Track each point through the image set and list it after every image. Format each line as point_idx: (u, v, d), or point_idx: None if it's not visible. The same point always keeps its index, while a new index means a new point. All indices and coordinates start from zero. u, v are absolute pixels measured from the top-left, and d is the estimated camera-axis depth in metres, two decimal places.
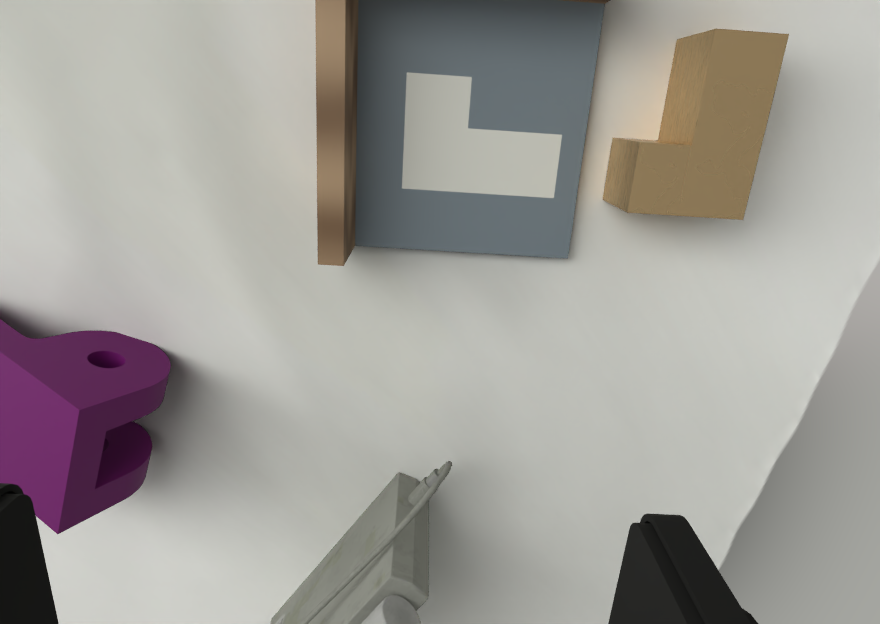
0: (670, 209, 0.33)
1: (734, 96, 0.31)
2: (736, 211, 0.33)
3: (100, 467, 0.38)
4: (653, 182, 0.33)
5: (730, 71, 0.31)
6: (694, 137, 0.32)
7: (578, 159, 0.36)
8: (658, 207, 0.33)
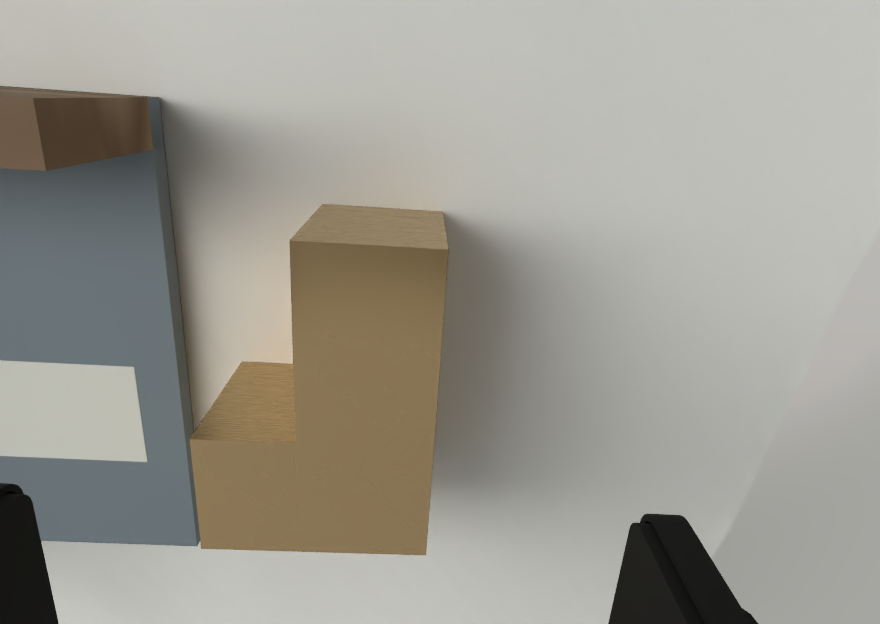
0: (282, 542, 0.18)
1: (359, 361, 0.15)
2: (410, 543, 0.18)
3: None
4: (238, 502, 0.17)
5: (341, 317, 0.15)
6: (297, 429, 0.16)
7: (174, 404, 0.20)
8: (258, 539, 0.17)
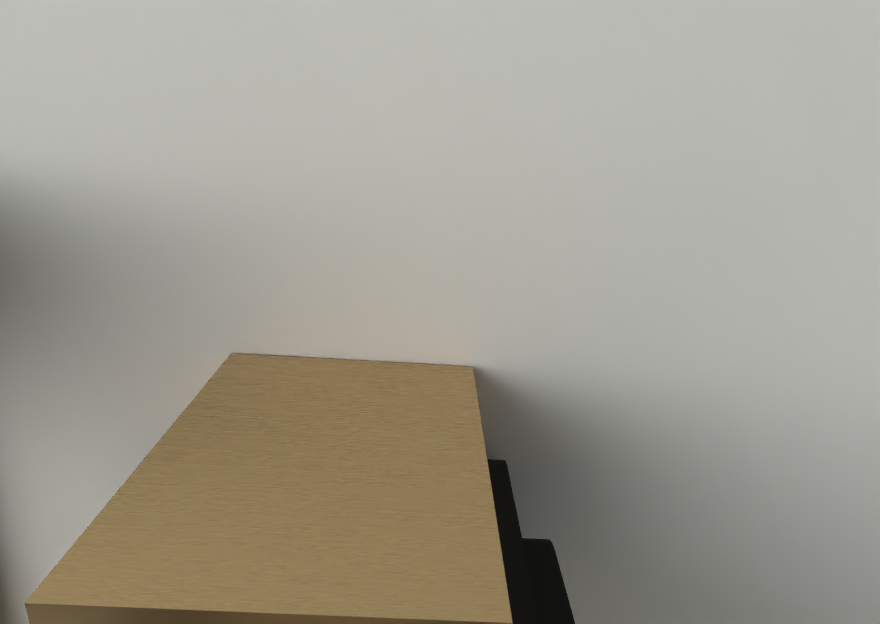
0: None
1: None
2: None
3: None
4: None
5: None
6: None
7: None
8: None
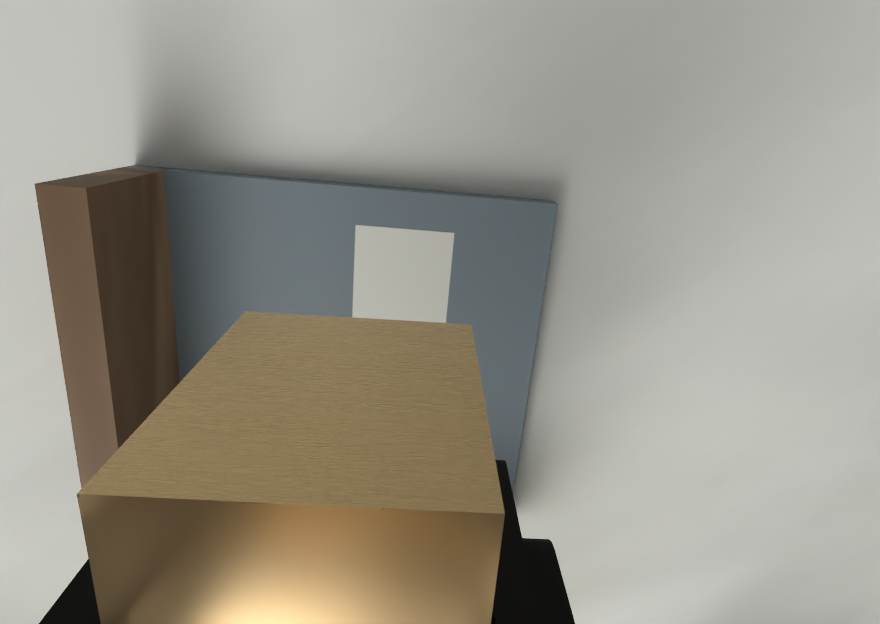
0: None
1: None
2: None
3: None
4: None
5: None
6: None
7: (393, 196, 0.22)
8: None
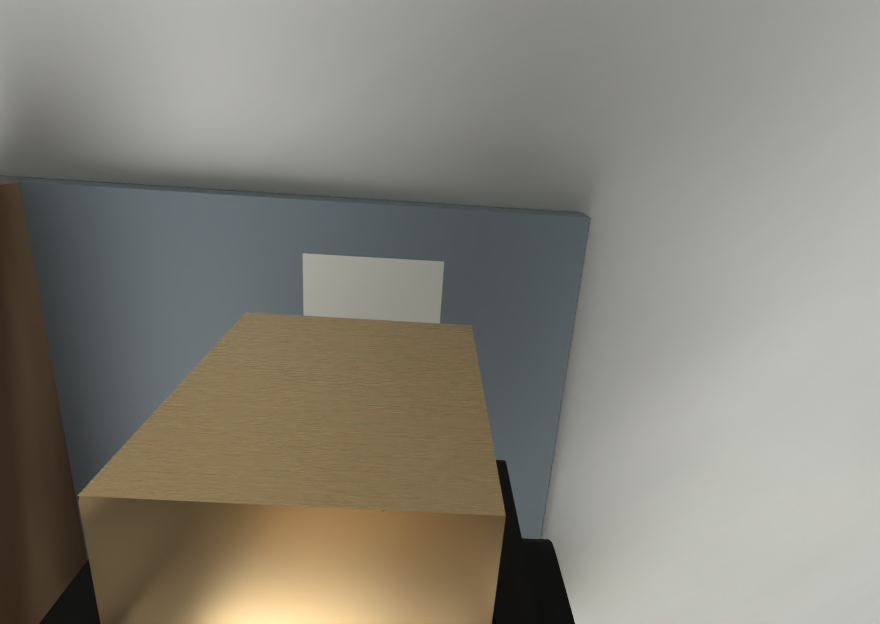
0: None
1: None
2: None
3: None
4: None
5: None
6: None
7: (354, 212, 0.16)
8: None
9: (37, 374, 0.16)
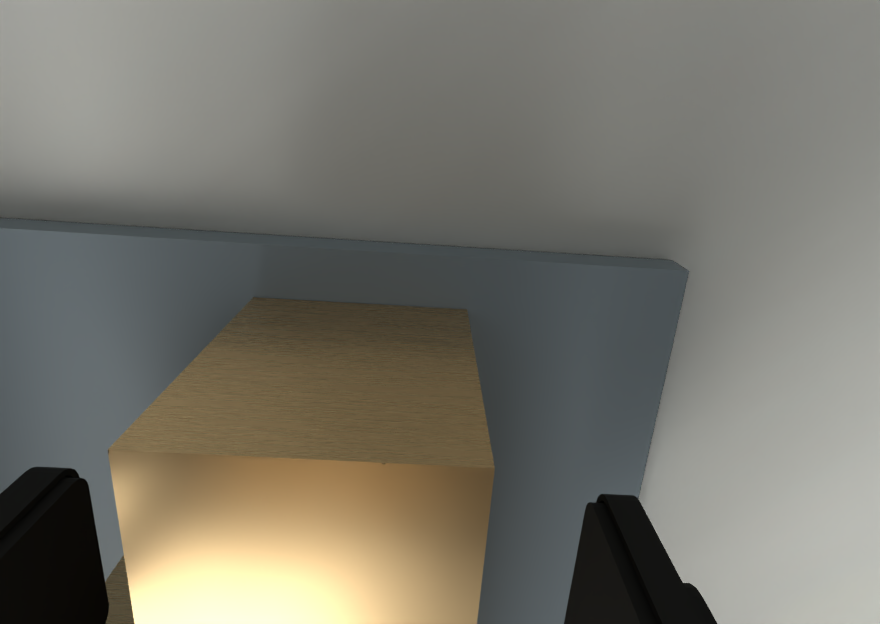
0: None
1: None
2: None
3: None
4: None
5: (244, 605, 0.07)
6: None
7: (333, 262, 0.10)
8: None
9: None
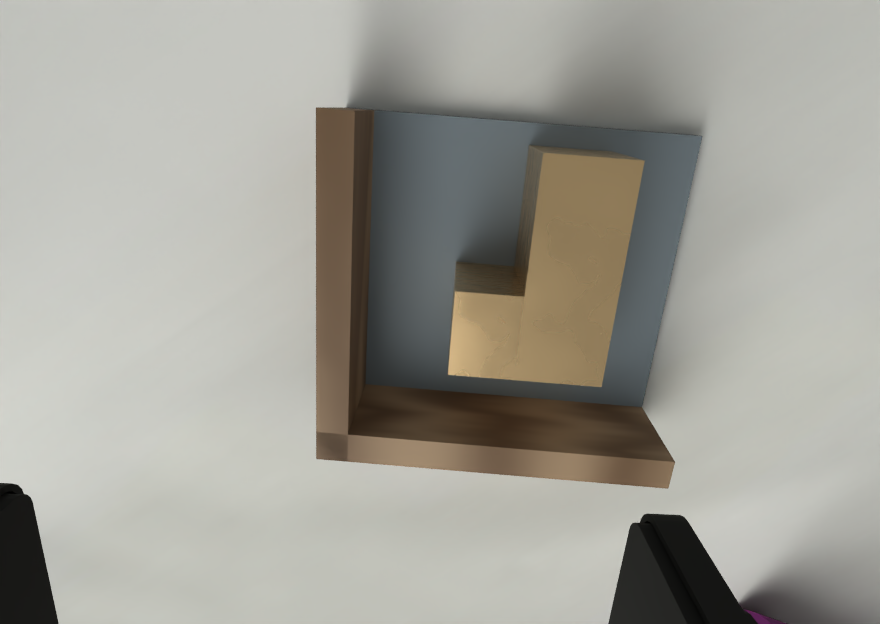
0: (503, 372, 0.25)
1: (575, 238, 0.23)
2: (591, 377, 0.25)
3: None
4: (478, 340, 0.25)
5: (568, 206, 0.23)
6: (527, 286, 0.24)
7: (562, 130, 0.27)
8: (487, 369, 0.25)
9: (368, 225, 0.28)
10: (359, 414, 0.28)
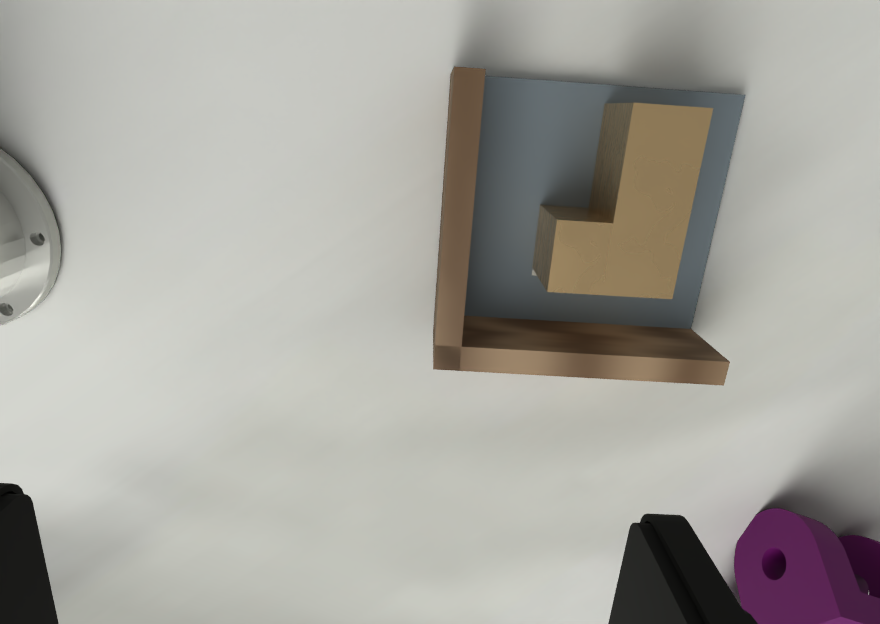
0: (593, 288, 0.31)
1: (656, 172, 0.29)
2: (664, 290, 0.31)
3: None
4: (574, 261, 0.30)
5: (651, 146, 0.28)
6: (616, 214, 0.30)
7: (632, 91, 0.32)
8: (580, 286, 0.31)
9: None
10: (463, 334, 0.34)
